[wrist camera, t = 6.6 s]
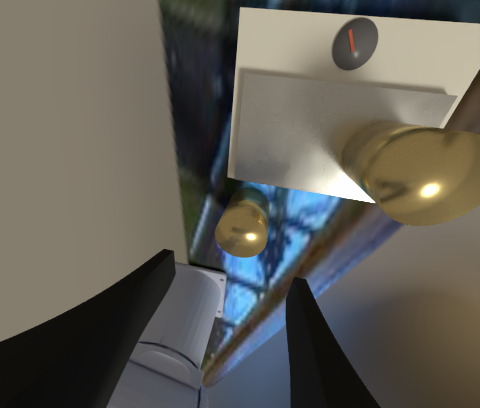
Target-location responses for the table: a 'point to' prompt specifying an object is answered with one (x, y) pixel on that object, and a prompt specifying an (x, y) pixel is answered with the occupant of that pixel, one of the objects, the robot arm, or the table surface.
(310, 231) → the table surface
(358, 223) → the table surface
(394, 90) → the scale pan
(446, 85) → the scale
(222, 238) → the cylinder
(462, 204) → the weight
